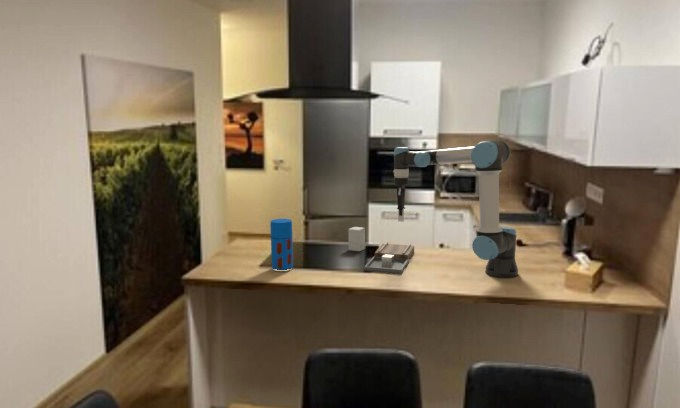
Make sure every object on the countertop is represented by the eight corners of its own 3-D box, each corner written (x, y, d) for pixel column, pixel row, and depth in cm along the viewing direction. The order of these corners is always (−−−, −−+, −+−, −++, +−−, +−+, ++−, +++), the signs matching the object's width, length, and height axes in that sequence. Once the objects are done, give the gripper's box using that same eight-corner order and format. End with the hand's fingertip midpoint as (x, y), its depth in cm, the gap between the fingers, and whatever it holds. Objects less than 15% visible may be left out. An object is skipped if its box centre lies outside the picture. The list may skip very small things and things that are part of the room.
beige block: (392, 255, 257) (391, 257, 253) (392, 265, 258) (391, 267, 254) (383, 254, 259) (381, 256, 255) (383, 264, 259) (381, 266, 256)
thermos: (297, 268, 255) (296, 220, 251) (281, 273, 247) (280, 223, 243) (283, 264, 262) (282, 217, 258) (267, 269, 254) (265, 220, 250)
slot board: (414, 252, 283) (414, 244, 282) (407, 262, 264) (408, 253, 263) (382, 250, 288) (383, 241, 287) (374, 259, 270) (374, 250, 269)
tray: (408, 262, 264) (408, 259, 263) (401, 273, 245) (401, 270, 244) (373, 259, 269) (373, 256, 269) (363, 270, 250) (363, 266, 250)
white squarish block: (394, 262, 263) (394, 254, 262) (392, 264, 258) (392, 257, 257) (385, 261, 264) (385, 254, 264) (382, 264, 260) (382, 256, 259)
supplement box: (365, 248, 292) (365, 227, 290) (359, 251, 286) (359, 230, 284) (354, 247, 296) (354, 226, 294) (348, 250, 290) (348, 228, 288)
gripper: (396, 175, 269) (396, 218, 273) (391, 178, 257) (391, 223, 261) (410, 175, 267) (409, 219, 271) (406, 178, 255) (406, 223, 259)
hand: (401, 221), depth 266 cm, fingers closed
